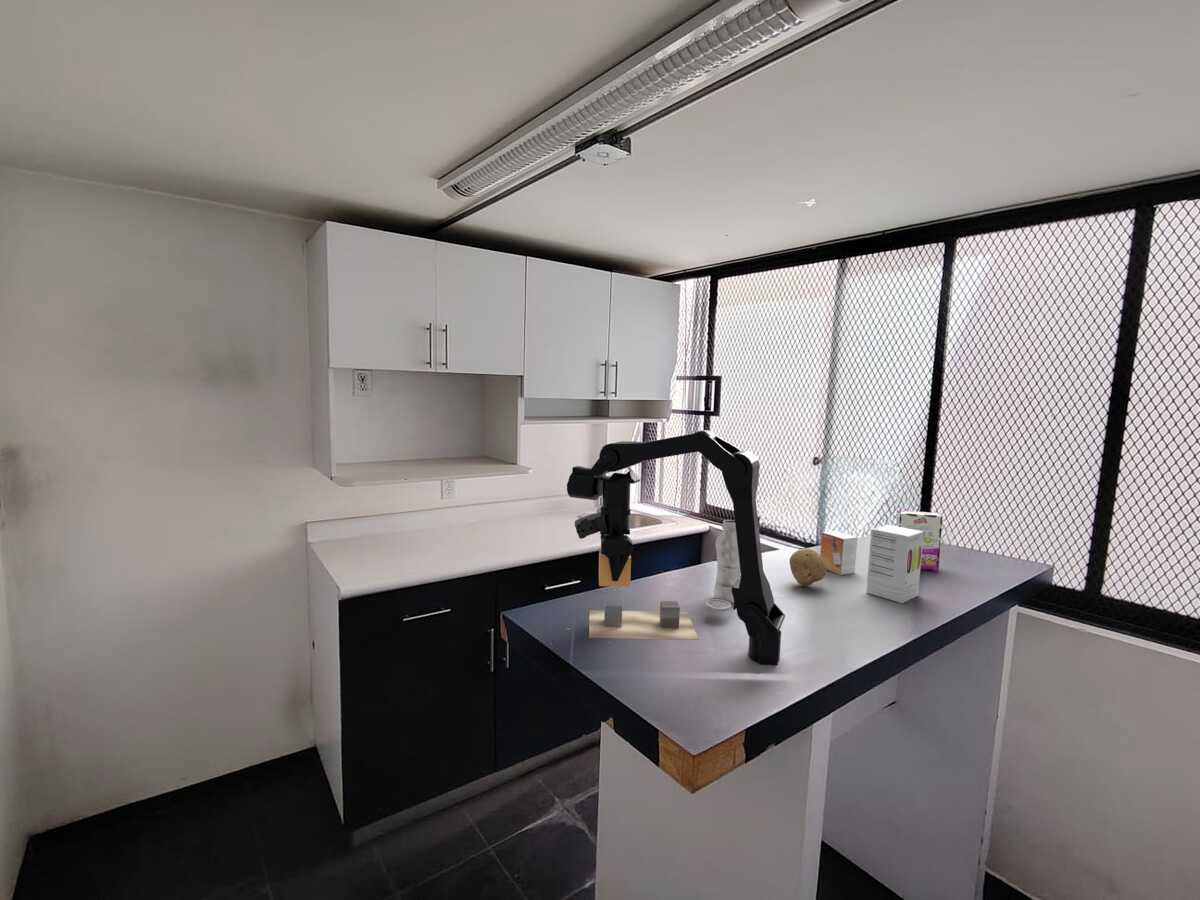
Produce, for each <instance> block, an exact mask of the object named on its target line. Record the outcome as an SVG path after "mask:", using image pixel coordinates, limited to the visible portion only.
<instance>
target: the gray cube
mask: <svg viewBox="0 0 1200 900" xmlns="http://www.w3.org/2000/svg"><path fill="white" fill-rule="evenodd" d="M603 610H604V626H605V627H622V611H623V603H622V599H604V609H603Z"/></svg>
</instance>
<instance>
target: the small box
mask: <svg viewBox="0 0 1200 900" xmlns="http://www.w3.org/2000/svg"><path fill="white" fill-rule="evenodd" d="M857 547H858V537H857V536H854V535H850V534H846V533H843V532H840V531H837V530H830V531H823V532H821V544H820V553H819V555H820V556H821V557H822V559H823V561H824V564H825V566H826V571H827V570H828V571H830V572H833V573H835V574H837V575H839V576H843V575H844V576H845V575H848V574H854V573H855V571H856V559H857V549H858V548H857Z"/></svg>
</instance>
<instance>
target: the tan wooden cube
mask: <svg viewBox="0 0 1200 900" xmlns="http://www.w3.org/2000/svg"><path fill="white" fill-rule="evenodd" d="M598 551H599V552H598V553H599V554H598V585H599V586H598V587H625V588H626V587H627V588H630V587H631V581H632V579H631V576H632V575H631V574H632V573H631V570H632V556H631V555H632V554H631V555H630V556H629V558H628V560H627V562H626V564H625V566H624V569H623V571H622V573H621V575H620V577H619V579H618V581H612V576H611V570H610V564H609V559H608V558H607V557H606V556H605V555H603V554H601V548H599V550H598Z"/></svg>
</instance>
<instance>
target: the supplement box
mask: <svg viewBox="0 0 1200 900" xmlns="http://www.w3.org/2000/svg"><path fill="white" fill-rule="evenodd" d="M923 536H924V532H923V531H918V530H913V529H908V528H903V527H898V526H896V525H891V524H885V525H883V526H880V527H876V528H875V527H874V528H872V529H871V531H870V541H869V542H870V544H869V555H868V557H869V558H868V566H867V567H868V568H867V580H866V593H867V594H870V595H873V596H876V597H880V598H883V599H886V600H890V601H894V602H897V603H900V604H904V603H906V602H908V601H910V600H913V599H915V598H916V597H918V596H919V588H920V580H921V579H920V577H921V570H920V568H921V557H922V546H923ZM866 593H865V594H866Z"/></svg>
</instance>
